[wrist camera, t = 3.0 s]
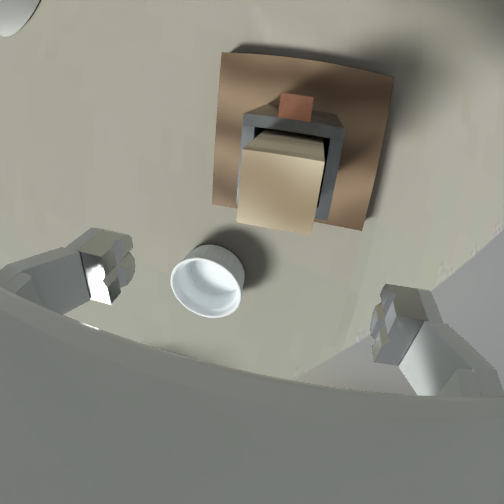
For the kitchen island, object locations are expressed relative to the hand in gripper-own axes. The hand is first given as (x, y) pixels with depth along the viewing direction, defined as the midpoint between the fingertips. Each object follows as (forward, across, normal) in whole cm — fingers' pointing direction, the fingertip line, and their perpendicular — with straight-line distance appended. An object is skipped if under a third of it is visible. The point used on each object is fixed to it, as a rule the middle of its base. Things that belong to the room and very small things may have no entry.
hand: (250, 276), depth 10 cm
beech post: (+22, 0, 0) cm, 22 cm away
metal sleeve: (+22, 0, -1) cm, 22 cm away
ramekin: (+25, +8, +18) cm, 31 cm away
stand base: (+24, 0, 0) cm, 24 cm away
